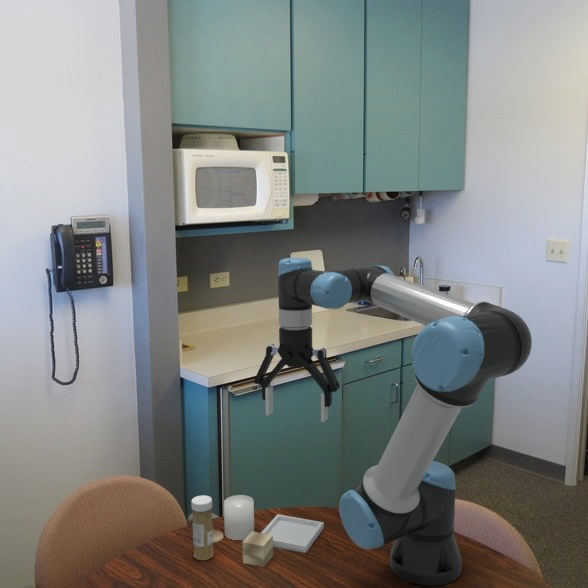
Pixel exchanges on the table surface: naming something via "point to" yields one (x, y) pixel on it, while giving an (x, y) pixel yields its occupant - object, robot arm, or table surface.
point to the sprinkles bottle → (202, 527)
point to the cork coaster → (217, 536)
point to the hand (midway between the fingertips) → (296, 416)
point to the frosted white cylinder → (238, 517)
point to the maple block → (258, 549)
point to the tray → (293, 532)
